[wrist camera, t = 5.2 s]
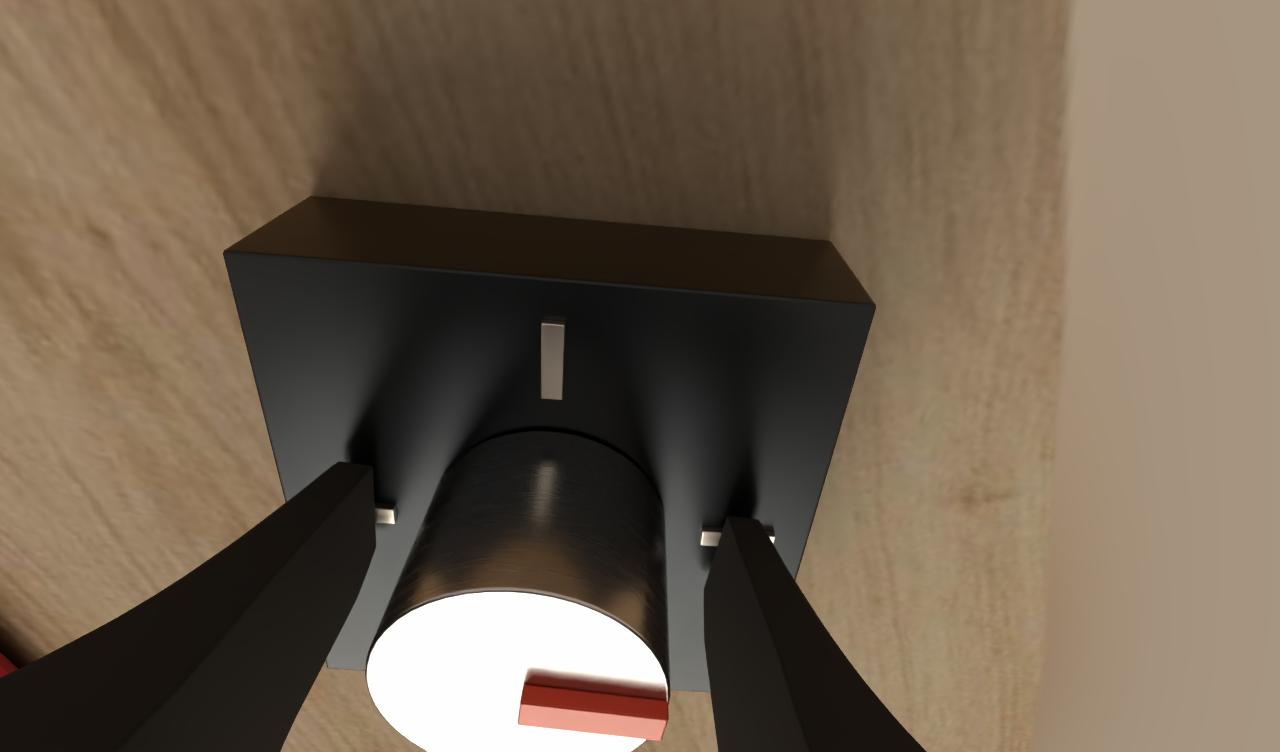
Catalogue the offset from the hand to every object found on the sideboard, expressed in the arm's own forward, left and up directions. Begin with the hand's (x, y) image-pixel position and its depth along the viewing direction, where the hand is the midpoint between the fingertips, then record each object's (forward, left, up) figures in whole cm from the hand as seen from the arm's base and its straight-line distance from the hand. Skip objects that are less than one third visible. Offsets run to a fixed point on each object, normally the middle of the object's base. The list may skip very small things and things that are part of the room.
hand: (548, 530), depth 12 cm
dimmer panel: (0, 0, -3) cm, 3 cm away
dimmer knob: (0, 0, 0) cm, 0 cm away
